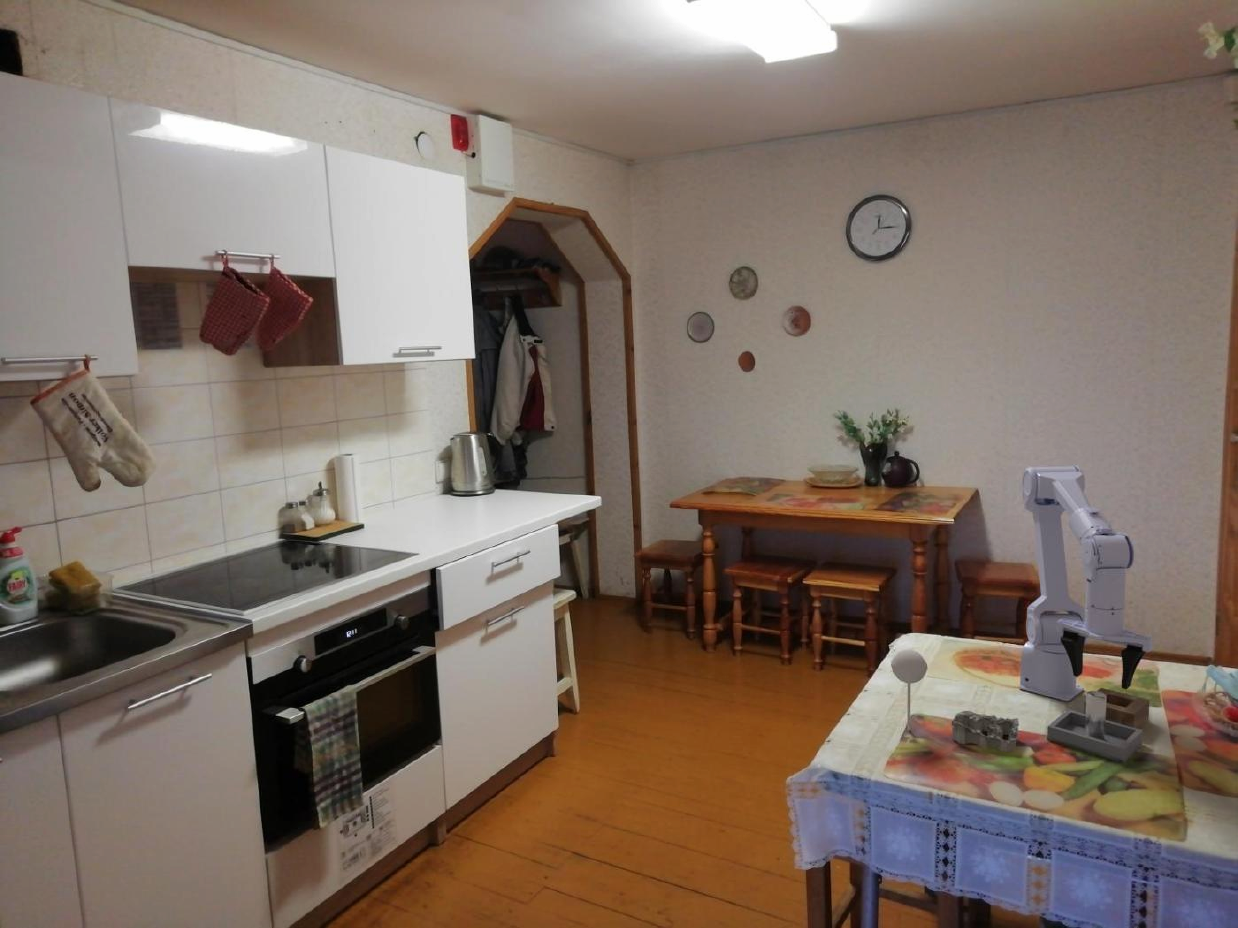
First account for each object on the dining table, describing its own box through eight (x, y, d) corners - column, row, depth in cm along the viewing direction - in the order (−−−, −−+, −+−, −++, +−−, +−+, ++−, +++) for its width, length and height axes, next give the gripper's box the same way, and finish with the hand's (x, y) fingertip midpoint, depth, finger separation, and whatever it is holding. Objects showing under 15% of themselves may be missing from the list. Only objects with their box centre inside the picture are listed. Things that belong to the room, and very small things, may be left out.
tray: (1046, 739, 148) (1047, 726, 148) (1067, 722, 154) (1068, 709, 154) (1123, 763, 139) (1124, 748, 139) (1142, 743, 145) (1142, 730, 145)
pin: (1081, 738, 147) (1083, 694, 146) (1088, 732, 149) (1090, 689, 147) (1100, 744, 144) (1102, 699, 143) (1107, 738, 146) (1109, 694, 145)
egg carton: (948, 743, 149) (948, 721, 148) (956, 725, 155) (956, 704, 155) (1015, 756, 143) (1015, 733, 143) (1021, 737, 150) (1021, 715, 149)
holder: (1083, 722, 154) (1084, 701, 153) (1100, 707, 159) (1101, 687, 158) (1133, 736, 148) (1134, 714, 147) (1148, 720, 153) (1149, 699, 152)
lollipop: (928, 725, 155) (929, 646, 153) (925, 740, 150) (926, 658, 148) (892, 720, 158) (893, 642, 155) (888, 734, 152) (888, 654, 150)
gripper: (1050, 601, 147) (1047, 676, 149) (1144, 619, 136) (1140, 700, 138) (1066, 591, 152) (1064, 664, 154) (1159, 609, 141) (1155, 686, 143)
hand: (1101, 680), depth 146 cm, fingers open, 7 cm apart
